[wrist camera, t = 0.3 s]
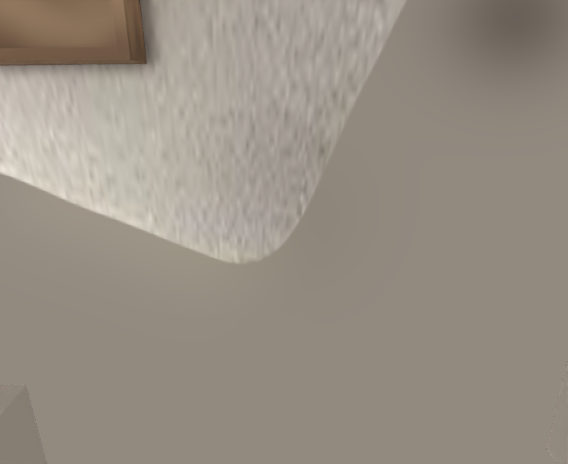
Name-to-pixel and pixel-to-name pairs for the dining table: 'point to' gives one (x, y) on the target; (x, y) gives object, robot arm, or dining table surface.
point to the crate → (71, 32)
